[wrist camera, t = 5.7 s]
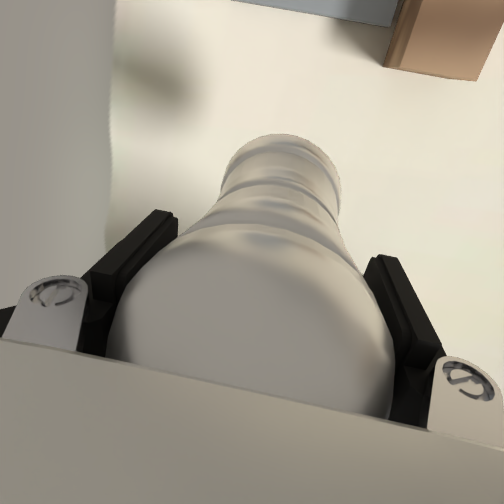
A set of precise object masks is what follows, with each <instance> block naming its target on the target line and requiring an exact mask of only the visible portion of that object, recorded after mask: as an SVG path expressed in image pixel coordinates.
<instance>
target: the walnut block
mask: <svg viewBox="0 0 504 504" xmlns="http://www.w3.org/2000/svg"><path fill="white" fill-rule="evenodd" d="M503 22H504V0H404V2H403V5H402V8H401V11H400V14H399V17H398V20H397V24H396V27H395V30H394V33H393V36H392V39H391V42H390V46H389V49H388V52H387V55H386V58H385V61H384V64H383V67H386V68H392V69H397V70H403V71H408V72H414V73H419V74H425V75H430V76H436V77H441V78H447V79H457V80H467V81H477V79H478V77H479V75H480V72H481V70H482V68H483V66H484V64H485V61H486V59H487V57H488V55H489V53H490V51H491V48H492V46H493V44H494V42H495V40H496V38H497V35H498V33H499V31H500V29H501V27H502V24H503Z"/></svg>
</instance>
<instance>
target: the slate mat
mask: <svg viewBox="0 0 504 504" xmlns="http://www.w3.org/2000/svg"><path fill="white" fill-rule="evenodd" d="M233 1H239V2H245V3H250V4H256V5H262V6H268V7H273V8H279V9H285V10H291V11H296V12H302V13H308V14H314V15H319V16H325V17H331V18H337V19H343V20H348V21H354V22H360V23H366V24H371V25H377V26H383V27H390V26H391V23H392V20H393V16H394V13H395V10H396V7H397V3H398V0H233Z"/></svg>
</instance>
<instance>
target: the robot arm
mask: <svg viewBox="0 0 504 504" xmlns="http://www.w3.org/2000/svg"><path fill="white" fill-rule="evenodd" d="M177 236H178V219H177V218H176V217H173V213H171V212H167V211H162V210H157V209H155V210H154V211H153V212H152V213H151V214H150V215H149V216H148V217H146V218H145V219H144V220H143V221H142V222H141V223H140V224H139V225H138V226H137V227H136V228H135V229H134V230H133V231H131V232H130V233H129V234H128V235H127V236H126V237H125V238H124V239H123V240H121V241H120V242H118V243H117V244H116V245H115V246H114V247H113V248H112V249H111V250H110V251H109V252H108V253H107V254H106V255H104V256H103V257H102V258H101V259H100V260H99V261H98V262H97V263H96V264H95V265H94V266H93V267H92V268H91V269H89V270H88V271H87V272H86V273H85V274H84V275H83V276H82V277H81V278H77V277H74V276H66V275H60V276H52V277H48V278H44V279H41V280H39V281H37V282H34V283H33V284H31V285H30V286H29V287H27V288H26V289H25V291H24V292H23V293H22V295H21V297H20V300H19V302H18V304H17V305H16V306H13V307H8V308H5V309H0V504H504V406H503V397H502V394H501V391H500V388H499V387H498V385H497V384H496V382H495V381H494V380H493V379H492V378H491V377H490V376H489V375H488V374H487V373H486V372H484V371H483V370H482V369H480V368H479V367H478V366H476V365H474V364H472V363H470V362H469V361H466V360H464V359H461V358H458V357H452V356H447V355H446V353H445V351H444V349H443V347H442V344H441V342H440V340H439V338H438V336H437V334H436V332H435V330H434V328H433V326H432V324H431V322H430V320H429V318H428V316H427V314H426V312H425V310H424V309H423V307H422V305H421V303H420V301H419V299H418V297H417V295H416V293H415V291H414V289H413V287H412V285H411V283H410V281H409V279H408V277H407V275H406V273H405V272H404V270H403V268H402V266H401V264H400V262H399V260H398V258H396V257H391V256H386V255H381V254H379V255H378V256H377V257H376V258H375V257H372V258H371V259H370V261H369V263H368V266H367V268H366V271H365V273H364V276H363V278H364V280H365V281H366V283H367V285H368V287H369V288H370V290H371V291H372V293H373V295H374V297H375V299H376V302H377V304H378V306H379V309H380V311H381V313H382V315H383V317H384V320H385V322H386V324H387V327H388V329H389V332H390V334H391V337H392V339H393V346H394V354H395V373H394V388H393V399H392V404H391V410H390V415H389V418H388V420H385V419H381V418H377V417H372V416H368V415H363V414H359V413H355V412H350V411H346V410H341V409H337V408H332V407H328V406H324V405H319V404H315V403H310V402H306V401H301V400H297V399H292V398H288V397H283V396H279V395H274V394H270V393H265V392H261V391H256V390H252V389H247V388H243V387H238V386H234V385H229V384H225V383H220V382H215V381H211V380H206V379H202V378H197V377H193V376H188V375H183V374H179V373H174V372H169V371H165V370H160V369H156V368H151V367H146V366H142V365H137V364H132V363H128V362H123V361H118V360H114V359H109V358H106V348H107V340H108V335H109V332H110V328H111V325H112V322H113V319H114V315H115V312H116V309H117V306H118V303H119V301H120V299H121V296H122V294H123V292H124V290H125V288H126V286H127V284H128V283H129V282H130V281H131V280H132V278H133V277H134V276H135V275H136V274H137V273H138V271H139V270H140V269H141V268H142V267H143V266H144V265H145V264H146V263H147V262H148V261H150V260H151V259H152V258H153V257H154V256H155V255H156V254H157V253H158V252H159V251H160V250H161V249H163V248H164V247H166V246H167V245H168V244H169V243H171V242H172V241H173V240H175V239H176V238H177Z"/></svg>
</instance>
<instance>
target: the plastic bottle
mask: <svg viewBox="0 0 504 504" xmlns="http://www.w3.org/2000/svg"><path fill="white" fill-rule="evenodd" d="M340 204H341V185H340V179H339V176H338V173H337V171H336V168H335V166H334V164H333V163H332V161H331V160H330V158H329V157H328V156H327V155H326V154H325V153H324V152H323V151H322V150H321V149H320V148H319V147H317V146H316V145H314V144H313V143H311V142H310V141H308V140H306V139H303V138H300V137H298V136H294V135H288V134H270V135H266V136H262V137H258V138H256V139H254V140H252V141H250V142H248V143H247V144H245V145H244V146H243V147H242V148H240V149H239V150H238V151H237V152H236V154H235V155H234V156H233V157H232V158H231V160H230V162H229V164H228V166H227V168H226V171H225V174H224V177H223V181H222V185H221V193H220V195H219V198H218V200H217V202H216V204H215V205H214V206H213V207H212V208H211V209H210V210H209V212H208V213H207V214H206V215H205V216H204V217H203V218H202V219H201V220H199V221H198V222H197V223H195V224H194V225H193V226H192V227H190V228H189V229H188V230H186V231H185V232H184V233H182V234H181V235H180V236H178V237H177V238H176V239H175V240H173V241H172V242H171V243H169V244H168V245H167V246H166V247H164V248H163V249H161V250H160V251H159V252H158V253H157V254H156V255H155V256H154V257H153V258H152V259H151V260H150V261H148V262H147V263H146V264H145V265H144V266H143V267H142V268H141V269H140V270H139V271H138V273H137V274H136V275H135V276H134V277H133V278H132V280H131V281H130V282H129V283H128V284H127V286H126V288H125V290H124V292H123V294H122V296H121V299H120V301H119V303H118V306H117V309H116V312H115V315H114V319H113V322H112V325H111V328H110V332H109V335H108V340H107V348H106V358H109V359H114V360H118V361H123V362H128V363H132V364H137V365H142V366H146V367H151V368H156V369H160V370H165V371H169V372H174V373H179V374H183V375H188V376H193V377H197V378H202V379H206V380H211V381H215V382H220V383H225V384H229V385H234V386H238V387H243V388H247V389H252V390H256V391H261V392H265V393H270V394H274V395H279V396H283V397H288V398H292V399H297V400H301V401H306V402H310V403H315V404H319V405H324V406H328V407H332V408H337V409H341V410H346V411H350V412H355V413H359V414H363V415H368V416H372V417H377V418H381V419H385V420H388V418H389V415H390V410H391V404H392V399H393V388H394V373H395V354H394V346H393V339H392V337H391V334H390V332H389V329H388V327H387V324H386V322H385V320H384V317H383V315H382V313H381V311H380V309H379V306H378V304H377V302H376V299H375V297H374V295H373V293H372V291H371V290H370V288H369V287H368V285H367V283H366V281H365V280H364V278H363V276H362V275H361V273H360V271H359V270H358V268H357V266H356V264H355V263H354V261H353V259H352V258H351V256H350V254H349V253H348V251H347V249H346V248H345V245H344V242H343V239H342V237H341V234H340V231H339V228H338V215H339V211H340Z"/></svg>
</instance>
